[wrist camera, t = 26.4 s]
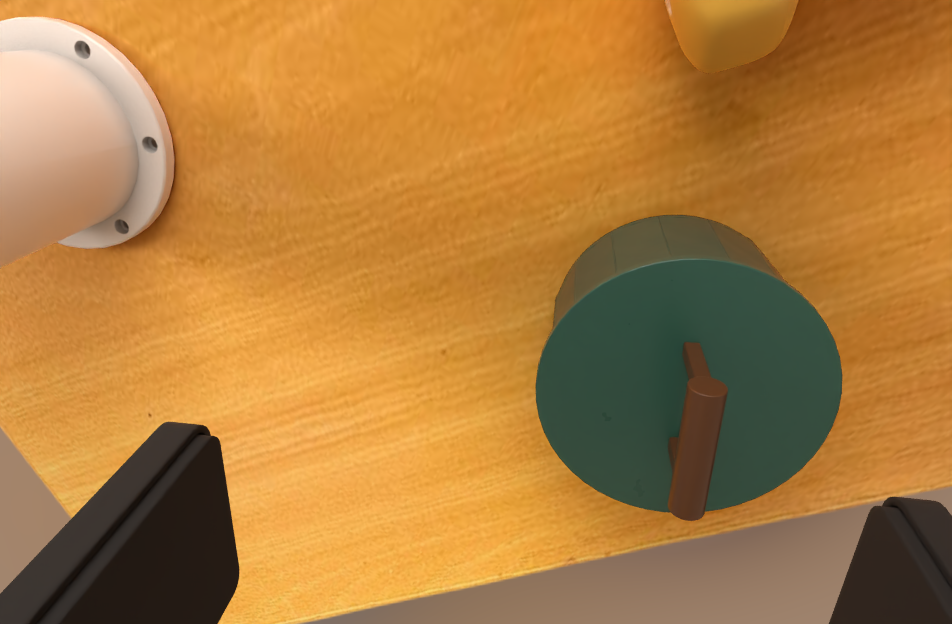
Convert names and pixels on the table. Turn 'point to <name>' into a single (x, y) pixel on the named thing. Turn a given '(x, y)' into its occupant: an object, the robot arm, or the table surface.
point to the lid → (688, 384)
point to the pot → (655, 251)
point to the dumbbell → (729, 30)
